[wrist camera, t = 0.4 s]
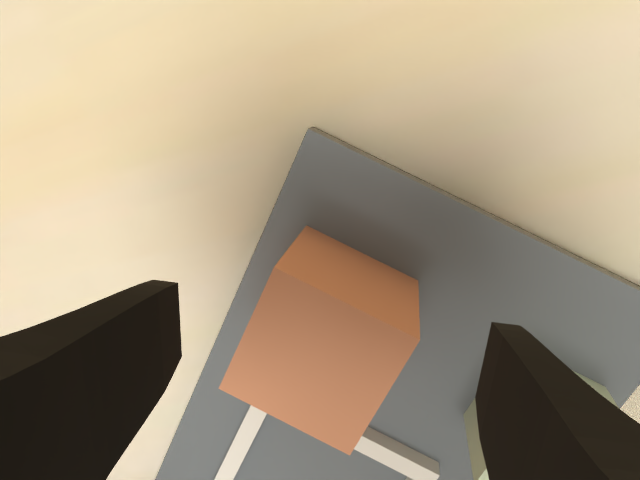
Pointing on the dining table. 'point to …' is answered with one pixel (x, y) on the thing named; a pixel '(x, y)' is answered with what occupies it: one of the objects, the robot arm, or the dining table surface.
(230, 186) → the dining table surface
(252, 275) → the board
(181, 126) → the dining table surface
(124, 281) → the dining table surface
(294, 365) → the block
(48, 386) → the robot arm
